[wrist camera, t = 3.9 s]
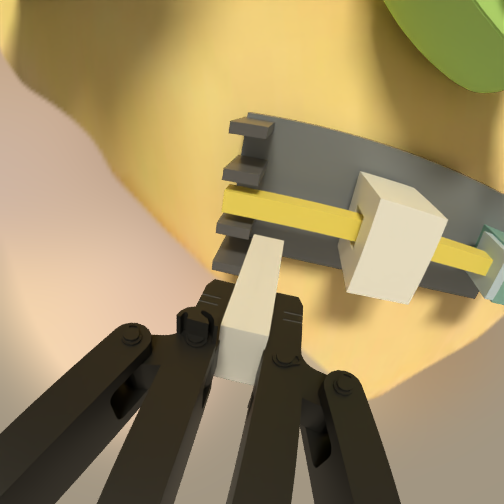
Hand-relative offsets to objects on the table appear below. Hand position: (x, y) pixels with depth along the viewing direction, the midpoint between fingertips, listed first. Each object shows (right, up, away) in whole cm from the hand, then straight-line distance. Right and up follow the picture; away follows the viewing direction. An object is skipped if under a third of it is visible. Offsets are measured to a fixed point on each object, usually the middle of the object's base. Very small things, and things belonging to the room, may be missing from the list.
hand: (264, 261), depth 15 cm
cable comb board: (+12, +4, +9) cm, 16 cm away
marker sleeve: (+10, +3, +8) cm, 13 cm away
